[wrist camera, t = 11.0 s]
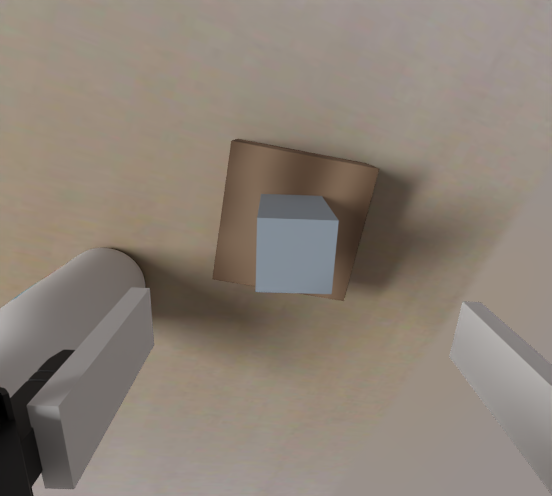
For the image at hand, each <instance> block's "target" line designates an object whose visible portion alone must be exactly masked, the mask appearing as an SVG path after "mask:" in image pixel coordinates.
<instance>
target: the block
mask: <svg viewBox="0 0 552 496" xmlns="http://www.w3.org/2000/svg"><path fill="white" fill-rule="evenodd" d="M338 223H339V220H338V219H337V217H336V216H335V214H334V213H333V212H332V210H331V209H330V207H329V206H328V204H327V203H326V201H325V200H324V198H323V197H322V196H308V195H280V194H261V197H260V203H259V210H258V216H257V248H256V292H273V293H306V294H332V285H333V274H334V264H335V254H336V243H337V233H338Z"/></svg>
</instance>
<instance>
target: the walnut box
mask: <svg viewBox="0 0 552 496" xmlns="http://www.w3.org/2000/svg"><path fill="white" fill-rule="evenodd" d="M378 172H379V169H378V168H376V167H374V166H371V165H369V164H366V163H362V162H357V161H351V160H346V159H341V158H336V157H330V156H325V155H320V154H315V153H309V152H304V151H299V150H294V149H288V148H283V147H278V146H273V145H267V144H262V143H257V142H252V141H246V140H241V139H235V140H233V141H231V148H230V155H229V162H228V170H227V177H226V184H225V192H224V199H223V206H222V213H221V221H220V228H219V235H218V242H217V250H216V257H215V264H214V272H213V279H214V280H220V281H227V282H233V283H239V284H245V285H251V286H256V248H257V216H258V210H259V203H260V197H261V194H280V195H308V196H322V197H323V198H324V200H325V201H326V203H327V204H328V206H329V207H330V209H331V210H332V212H333V213H334V214H335V216H336V217H337V219H338V220H339V223H338V233H337V243H336V254H335V264H334V274H333V285H332V294H306V293H299V294H305V295H311V296H317V297H323V298H329V299H335V300H341V301H344V298H345V294H346V290H347V286H348V283H349V279H350V275H351V272H352V268H353V264H354V261H355V257H356V253H357V250H358V246H359V242H360V239H361V235H362V231H363V227H364V224H365V220H366V216H367V213H368V209H369V205H370V202H371V198H372V194H373V191H374V187H375V183H376V179H377V176H378Z"/></svg>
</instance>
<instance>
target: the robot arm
mask: <svg viewBox="0 0 552 496" xmlns="http://www.w3.org/2000/svg"><path fill="white" fill-rule="evenodd" d="M153 346H154V337H153V324H152V311H151V297H150V288H136V287H131V288H130V289H129V290H128V292H127V293H126V294H125V295H124V296H123V297H122V298H121V299H120V301H119V302H118V303H117V304H116V305H115V306H114V307H113V308H112V310H111V311H110V312H109V313H108V314H107V315H106V316H105V317H104V319H103V320H102V321H101V322H100V323H99V324H98V325H97V326H96V328H95V329H94V330H93V331H92V332H91V333H90V334H89V335H88V337H87V338H86V339H85V340H84V341H83V342H82V343H81V344H80V346H79V347H78V348H77V349H76V350H65V349H64V350H62V351H60V352H59V353H57V354H55V355H54V356H52V357H50V358H49V359H48V360H47V361H46V362H45V363H44V364H43V365H42V366H41V367H40V368H39V369H38V371H37V372H35V373H34V374H33V375H32V376H31V377H30V378H29V380H28V381H26V382H25V383H24V384H23V385H22V386H21V387H20V388H19V389H18V390H17V391H16V392H15V393H14V395H13V396H12V397H11V398H10V396H9V393H8V391H7V390H6V389H5V388H2V387H0V496H33V492H32V486H33V484H34V483H35V481H36V480H37V478H38V477H39V475H40V474H41V472H42V477H43V481H44V486H45V488H53V489H74V488H75V486H76V485H77V483H78V481H79V479H80V477H81V476H82V474H83V472H84V470H85V468H86V467H87V465H88V463H89V461H90V459H91V458H92V456H93V454H94V452H95V450H96V449H97V447H98V445H99V443H100V441H101V440H102V438H103V436H104V434H105V432H106V431H107V429H108V427H109V425H110V423H111V422H112V420H113V418H114V416H115V414H116V413H117V411H118V409H119V407H120V405H121V404H122V402H123V400H124V398H125V396H126V395H127V393H128V391H129V389H130V387H131V386H132V384H133V382H134V380H135V378H136V376H137V375H138V373H139V371H140V369H141V367H142V366H143V364H144V362H145V360H146V358H147V357H148V355H149V353H150V351H151V349H152V348H153ZM449 357H450V358H451V360H452V361H453V362H454V364H455V365H456V366H457V368H458V369H459V370H460V372H461V373H462V375H463V376H464V377H465V379H467V381H468V383H469V384H470V385H471V387H472V388H473V389H474V391H475V392H476V393H477V395H478V396H479V397H480V399H481V400H482V401H483V403H484V404H485V406H486V407H487V408H488V409H489V411H490V412H491V414H492V415H493V416H494V418H495V419H496V420H497V422H498V423H499V424H500V426H501V427H502V428H503V430H504V431H505V432H506V434H507V435H508V437H509V438H510V439H511V441H512V442H513V443H514V445H515V446H516V447H517V449H518V450H519V451H520V453H521V454H522V455H523V457H524V458H525V460H526V461H527V462H528V464H529V465H530V466H531V468H532V469H533V470H534V472H535V473H536V474H537V476H538V477H539V478H540V480H541V481H542V482H543V484H544V485H545V486H546V488H547V489H548V491H549V492H550V493H551V494H552V364H551V363H550V362H548V361H547V360H546V359H545V358H544V357H543V356H542V355H541V354H539V353H538V352H537V351H536V350H535V349H534V348H532V347H531V346H530V345H529V344H528V343H527V342H526V341H525V340H523V339H522V338H521V337H520V336H519V335H517V334H516V333H515V332H514V331H513V330H512V329H510V327H508V326H507V325H506V324H505V323H504V322H503V321H502V320H500V319H499V318H498V317H497V316H496V315H495V314H494V313H492V312H491V311H490V310H489V309H488V308H487V307H485V306H484V305H483V304H482V303H481V302H465V301H463V302H462V306H461V310H460V314H459V318H458V323H457V327H456V331H455V335H454V339H453V344H452V348H451V352H450V356H449Z"/></svg>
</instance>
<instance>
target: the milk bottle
mask: <svg viewBox="0 0 552 496" xmlns="http://www.w3.org/2000/svg"><path fill="white" fill-rule="evenodd" d="M131 287H136V288H145V279H144V276H143V273H142V271H141V269H140V268H139V266H138V265H137V264H136V262H135V261H134V260H133V259H131V258H130V257H129V256H128V255H126V254H124V253H123V252H120V251H118V250H115V249H110V248H94V249H90V250H87V251H85V252H83V253H81V254H80V255H78V256H76V257H75V258H73V259H72V260H70V261H69V262H67V263H66V264H64V265H63V266H61V267H60V268H58V269H57V270H55V271H54V272H52V273H50V274H49V275H47V276H46V277H44V278H43V279H41V280H40V281H38V282H37V283H36V284H34V285H33V286H31V287H30V288H28V289H27V290H25V291H24V292H22V293H21V294H19V295H18V296H17V297H15V298H14V299H12V300H11V301H10V302H8V303H7V304H6V305H4V306H3V307H2V308H1V309H0V387H2V388H5V389H6V390H7V391H8V393H9V396H10V398H11V397H12V396H13V395H14V393H15V392H16V391H17V390H18V389H19V388H20V387H21V386H22V385H23V384H24V383H25V382H26V381H28V380H29V378H30V377H31V376H32V375H33V374H34V373H35V372H37V371H38V369H39V368H40V367H41V366H42V365H43V364H44V363H45V362H46V361H47V360H48V359H49V358H50V357H52V356H54V355H55V354H57V353H59V352H60V351H62V350H64V349H65V350H76V349H77V348H78V347H79V346H80V344H81V343H82V342H83V341H84V340H85V339H86V338H87V337H88V335H89V334H90V333H91V332H92V331H93V330H94V329H95V328H96V326H97V325H98V324H99V323H100V322H101V321H102V320H103V319H104V317H105V316H106V315H107V314H108V313H109V312H110V311H111V310H112V308H113V307H114V306H115V305H116V304H117V303H118V302H119V301H120V299H121V298H122V297H123V296H124V295H125V294H126V293H127V292H128V290H129V289H130V288H131Z"/></svg>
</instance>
